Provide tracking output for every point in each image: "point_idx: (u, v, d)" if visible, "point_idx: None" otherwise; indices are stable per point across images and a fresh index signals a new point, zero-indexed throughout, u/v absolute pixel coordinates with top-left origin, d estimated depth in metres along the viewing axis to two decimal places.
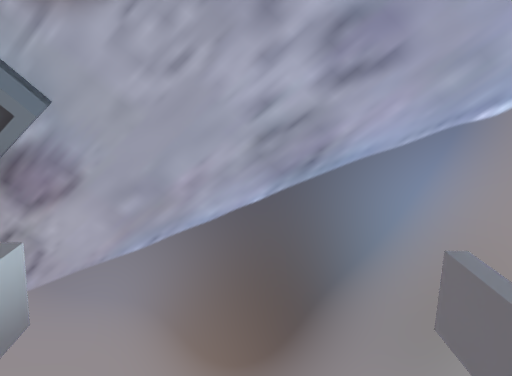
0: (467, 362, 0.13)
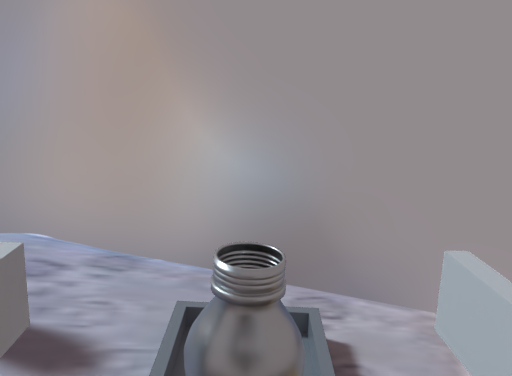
0: (467, 362, 0.13)
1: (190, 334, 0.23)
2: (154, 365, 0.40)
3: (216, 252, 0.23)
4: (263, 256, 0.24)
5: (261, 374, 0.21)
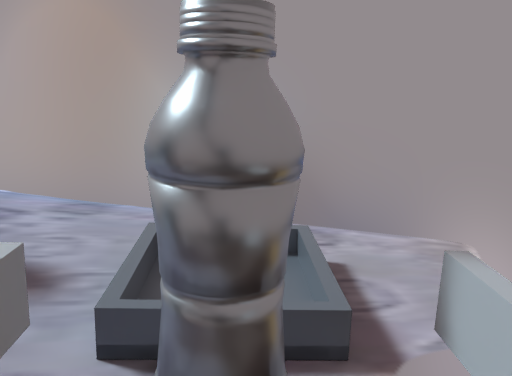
0: (466, 362, 0.13)
1: (152, 119, 0.17)
2: (120, 269, 0.34)
3: None
4: None
5: (248, 137, 0.15)
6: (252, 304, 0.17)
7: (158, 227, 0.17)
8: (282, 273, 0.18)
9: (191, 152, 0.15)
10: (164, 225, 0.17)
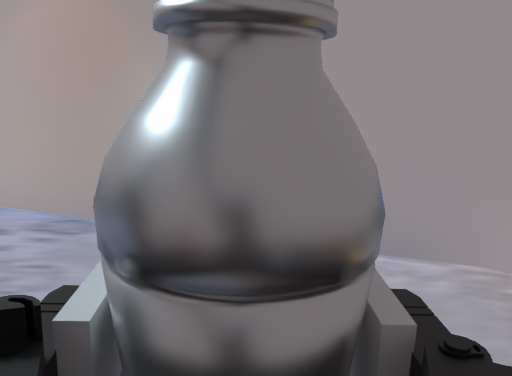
0: None
1: (108, 151, 0.10)
2: None
3: None
4: None
5: (293, 199, 0.07)
6: None
7: (119, 348, 0.10)
8: None
9: (175, 229, 0.07)
10: (127, 352, 0.09)
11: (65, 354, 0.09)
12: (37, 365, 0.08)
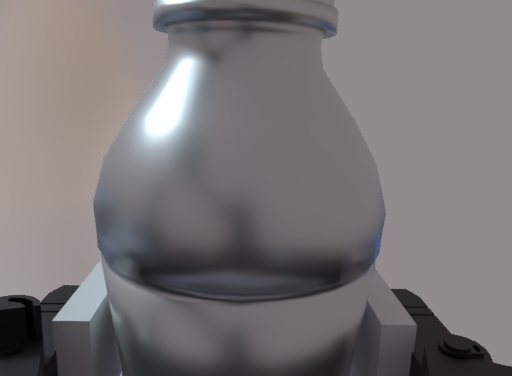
0: None
1: (108, 150, 0.10)
2: None
3: None
4: None
5: (294, 198, 0.07)
6: None
7: (119, 347, 0.10)
8: None
9: (175, 228, 0.07)
10: (127, 351, 0.09)
11: (65, 354, 0.09)
12: (37, 365, 0.08)
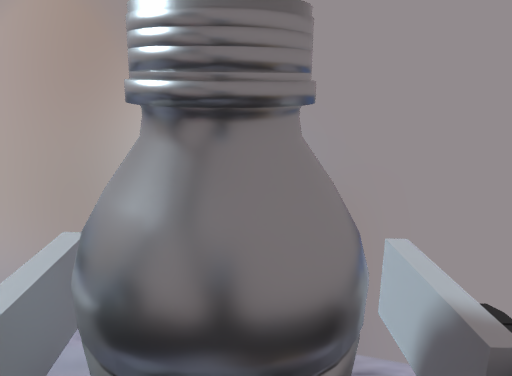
0: (400, 341, 0.14)
1: (85, 226, 0.09)
2: None
3: None
4: None
5: (268, 296, 0.07)
6: None
7: None
8: None
9: (148, 329, 0.07)
10: None
11: None
12: None
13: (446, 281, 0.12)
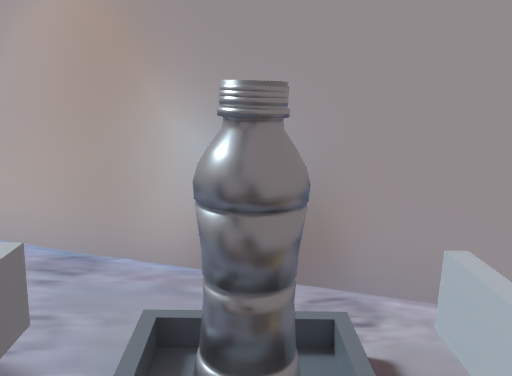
0: (466, 362, 0.13)
1: (199, 163, 0.24)
2: None
3: None
4: None
5: (270, 180, 0.22)
6: (272, 298, 0.24)
7: (203, 242, 0.24)
8: (294, 276, 0.25)
9: (230, 190, 0.22)
10: (208, 241, 0.23)
11: None
12: None
13: None
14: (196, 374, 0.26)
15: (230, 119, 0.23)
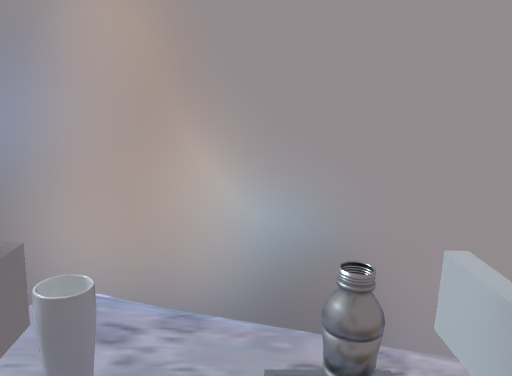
0: (467, 362, 0.13)
1: (327, 309, 0.45)
2: None
3: (340, 267, 0.45)
4: (359, 268, 0.47)
5: (369, 325, 0.43)
6: None
7: (329, 350, 0.46)
8: (375, 367, 0.46)
9: (349, 330, 0.43)
10: (333, 351, 0.45)
11: None
12: None
13: None
14: None
15: (346, 290, 0.44)
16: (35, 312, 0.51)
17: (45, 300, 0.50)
